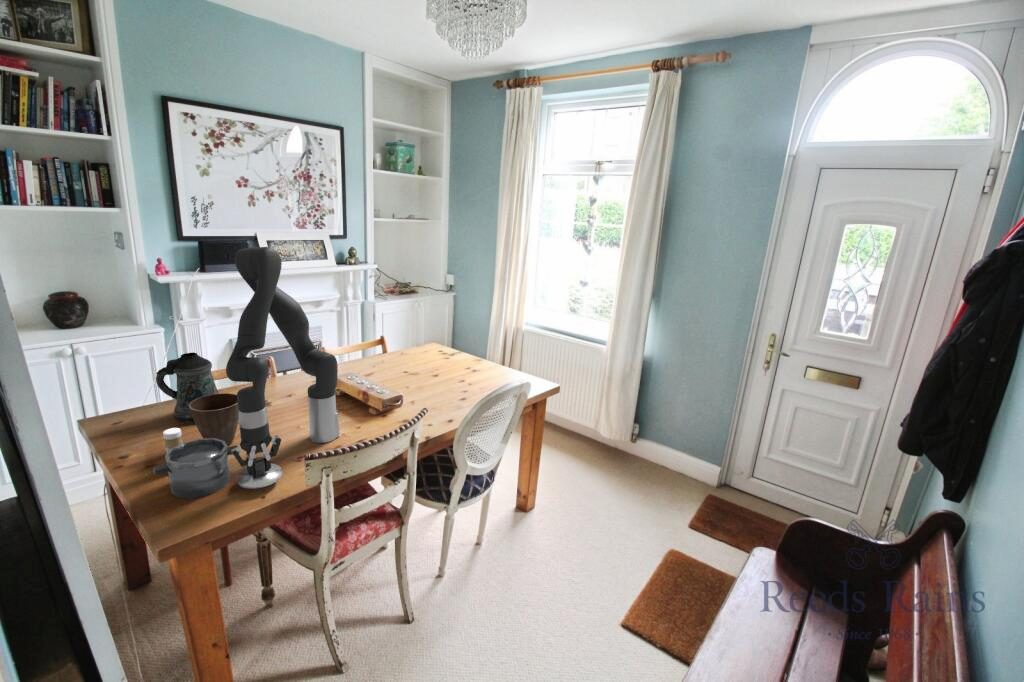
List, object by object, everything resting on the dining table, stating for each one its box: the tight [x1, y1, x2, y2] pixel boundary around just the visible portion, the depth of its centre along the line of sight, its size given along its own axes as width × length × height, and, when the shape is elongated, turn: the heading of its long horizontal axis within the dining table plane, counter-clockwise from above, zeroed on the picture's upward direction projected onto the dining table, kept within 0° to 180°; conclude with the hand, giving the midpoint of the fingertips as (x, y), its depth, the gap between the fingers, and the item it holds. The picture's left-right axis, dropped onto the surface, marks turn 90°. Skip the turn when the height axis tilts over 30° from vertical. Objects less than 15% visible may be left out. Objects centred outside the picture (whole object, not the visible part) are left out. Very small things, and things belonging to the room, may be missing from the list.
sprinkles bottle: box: [162, 427, 183, 455], centre depth 147 cm, size 5×5×14 cm
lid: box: [236, 456, 283, 490], centre depth 143 cm, size 12×12×6 cm
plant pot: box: [189, 392, 239, 447], centre depth 163 cm, size 15×15×16 cm
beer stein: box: [155, 352, 220, 425], centre depth 179 cm, size 16×19×25 cm
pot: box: [152, 438, 239, 499], centre depth 141 cm, size 21×15×11 cm
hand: (259, 472), depth 143 cm, fingers closed on lid, 3 cm apart
